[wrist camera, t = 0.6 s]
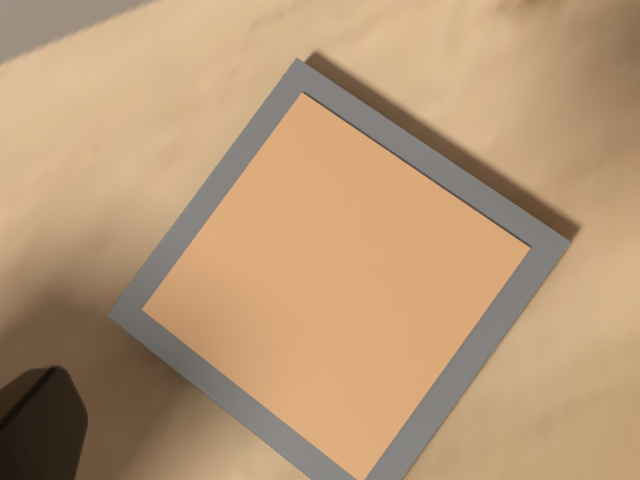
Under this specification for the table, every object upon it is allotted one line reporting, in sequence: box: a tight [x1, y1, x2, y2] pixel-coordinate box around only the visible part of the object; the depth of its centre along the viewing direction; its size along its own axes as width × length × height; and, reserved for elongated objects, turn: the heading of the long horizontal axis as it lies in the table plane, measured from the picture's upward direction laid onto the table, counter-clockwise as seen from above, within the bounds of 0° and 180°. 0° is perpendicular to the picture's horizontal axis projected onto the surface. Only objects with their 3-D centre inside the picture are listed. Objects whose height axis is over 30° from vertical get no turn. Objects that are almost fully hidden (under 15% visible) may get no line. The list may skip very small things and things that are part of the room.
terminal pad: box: [107, 58, 571, 480], centre depth 22 cm, size 12×12×1 cm
